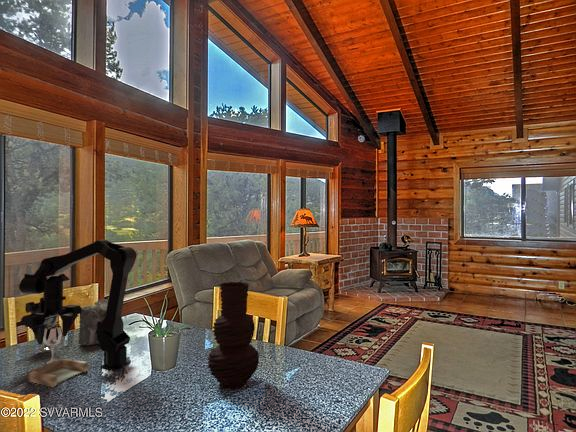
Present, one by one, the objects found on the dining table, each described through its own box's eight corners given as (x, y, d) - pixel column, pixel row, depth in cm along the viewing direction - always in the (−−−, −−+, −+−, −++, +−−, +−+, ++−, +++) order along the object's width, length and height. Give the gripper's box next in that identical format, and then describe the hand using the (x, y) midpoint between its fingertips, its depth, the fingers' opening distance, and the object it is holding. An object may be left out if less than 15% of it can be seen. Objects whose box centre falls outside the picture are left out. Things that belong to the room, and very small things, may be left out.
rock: (107, 294, 168) (125, 291, 165) (115, 330, 169) (134, 328, 166) (67, 310, 148) (87, 307, 145) (77, 352, 149) (98, 350, 146)
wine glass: (49, 352, 140) (49, 311, 140) (27, 352, 140) (28, 311, 141) (62, 345, 148) (63, 306, 148) (42, 345, 148) (42, 306, 148)
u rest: (87, 371, 124) (87, 362, 124) (52, 387, 112) (53, 377, 112) (63, 367, 127) (63, 357, 127) (27, 382, 116) (27, 372, 116)
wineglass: (66, 359, 134) (66, 325, 134) (54, 366, 128) (54, 329, 128) (50, 358, 135) (50, 324, 135) (38, 365, 129) (38, 329, 129)
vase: (268, 380, 119) (269, 282, 119) (237, 400, 106) (238, 290, 106) (229, 369, 127) (230, 278, 127) (196, 387, 114) (197, 285, 114)
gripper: (59, 287, 143) (58, 330, 143) (8, 297, 125) (8, 346, 125) (82, 289, 139) (82, 333, 139) (34, 300, 122) (33, 350, 122)
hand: (52, 340), depth 131 cm, fingers open, 9 cm apart
